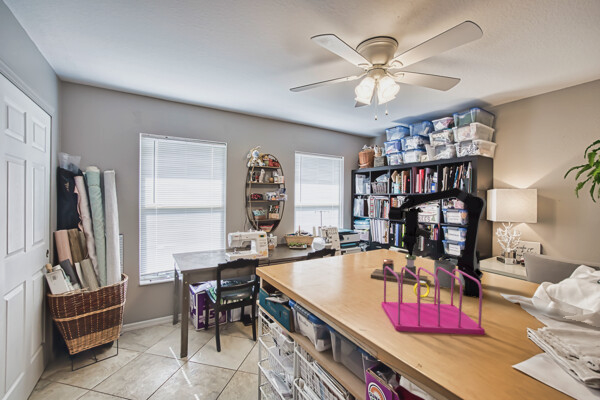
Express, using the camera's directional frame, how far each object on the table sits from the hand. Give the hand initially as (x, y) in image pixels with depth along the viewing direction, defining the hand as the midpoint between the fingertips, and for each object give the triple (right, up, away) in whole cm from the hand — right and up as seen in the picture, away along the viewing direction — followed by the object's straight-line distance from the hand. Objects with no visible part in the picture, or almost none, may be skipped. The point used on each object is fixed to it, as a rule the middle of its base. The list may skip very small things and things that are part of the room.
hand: (410, 255), depth 124 cm
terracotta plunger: (-9, -10, +5) cm, 14 cm away
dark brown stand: (-5, -12, +3) cm, 13 cm away
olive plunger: (0, -7, 0) cm, 7 cm away
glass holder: (+23, -13, -5) cm, 27 cm away
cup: (+13, -12, -5) cm, 19 cm away
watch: (-4, -12, -19) cm, 23 cm away
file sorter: (-11, -13, -39) cm, 42 cm away
